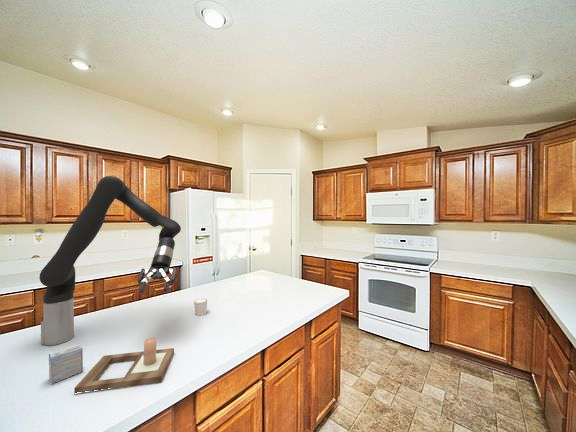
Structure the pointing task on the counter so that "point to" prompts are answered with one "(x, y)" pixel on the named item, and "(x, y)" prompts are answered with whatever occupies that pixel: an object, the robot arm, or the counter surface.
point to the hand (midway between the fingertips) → (153, 291)
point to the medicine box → (65, 363)
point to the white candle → (200, 307)
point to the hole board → (134, 376)
